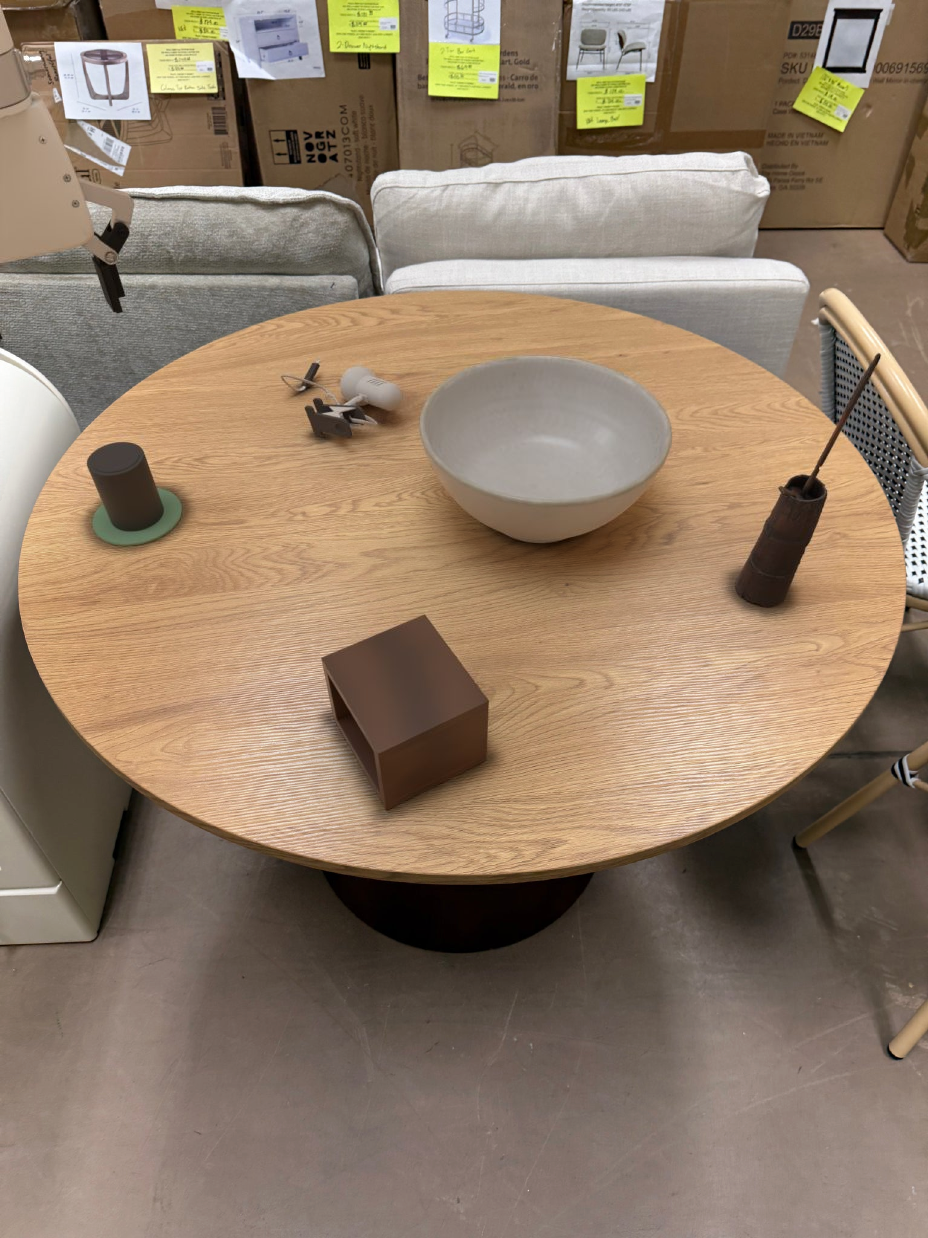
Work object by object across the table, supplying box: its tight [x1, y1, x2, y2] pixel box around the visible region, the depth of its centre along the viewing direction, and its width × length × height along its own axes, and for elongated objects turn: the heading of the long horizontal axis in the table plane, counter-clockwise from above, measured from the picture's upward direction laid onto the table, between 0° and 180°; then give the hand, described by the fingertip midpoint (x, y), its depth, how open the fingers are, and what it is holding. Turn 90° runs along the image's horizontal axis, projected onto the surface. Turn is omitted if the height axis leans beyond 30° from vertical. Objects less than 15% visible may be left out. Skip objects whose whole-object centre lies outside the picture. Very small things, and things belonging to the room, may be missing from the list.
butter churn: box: [734, 352, 882, 608], centre depth 76 cm, size 9×10×28 cm
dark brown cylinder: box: [86, 441, 164, 531], centre depth 91 cm, size 6×6×8 cm
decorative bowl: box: [418, 354, 673, 544], centre depth 91 cm, size 27×27×12 cm
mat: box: [91, 487, 183, 547], centre depth 94 cm, size 10×10×1 cm
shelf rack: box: [320, 613, 490, 811], centre depth 71 cm, size 10×11×9 cm
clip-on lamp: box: [279, 359, 403, 439], centre depth 107 cm, size 12×6×18 cm
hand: (56, 320), depth 68 cm, fingers open, 9 cm apart
